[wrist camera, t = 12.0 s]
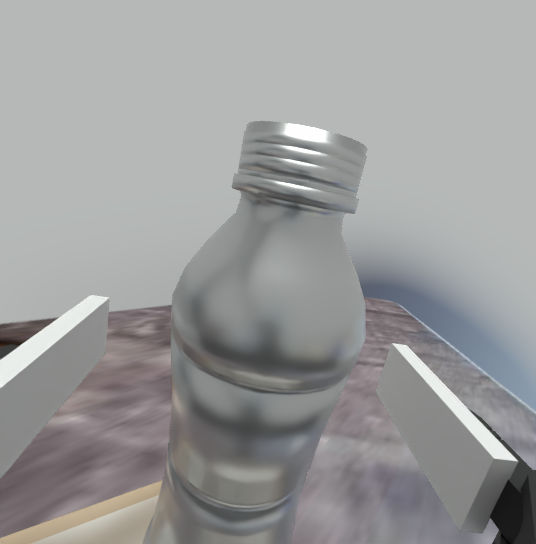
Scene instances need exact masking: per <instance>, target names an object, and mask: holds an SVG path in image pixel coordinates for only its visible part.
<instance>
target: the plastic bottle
mask: <svg viewBox="0 0 536 544" xmlns="http://www.w3.org/2000/svg"><path fill="white" fill-rule="evenodd" d="M366 152H367V148H366V146H365V145H363V144H361V143H360V142H358V141H355V140H353V139H351V138H348V137H345V136H342V135H339V134H336V133H332V132H329V131H324V130H321V129H316V128H312V127H307V126H302V125H296V124H289V123H281V122H271V121H270V122H269V121H256V122H250V123H248V124H247V129H246V131H245V133H244V138H243V144H242V151H241V157H240V163H239V169H238V174H234V178H233V184H232V188H233V189H236V190H240V192H241V199H240V202H239V205H238V208H237V211H236V213H235V214H234V215H233V216H231V217H230V218H229V219H228V220H227V221H226V223H224V224H223V225H222V226H221V227H220V228H219V229H218V230H217V231H216V232H215V233H214V234H213V235H212V236H211V237H210V238H209V239H208V240H207V241H206V243H205V244H204V245H203V246H202V247H201V249H200V250H199V251H198V252H197V253H196V255H195V256H194V257H193V258H192V259H191V261H190V262H189V263H188V264H187V266H186V267H185V269H184V271H183V273H182V275H181V277H180V280H179V282H178V284H177V286H176V288H175V291H174V293H173V295H172V312H171V328H170V330H171V370H172V408H171V419H170V430H169V443H168V453H167V465H166V469H165V473H164V477H163V481H162V485H161V489H160V493H159V497H158V501H157V505H156V509H155V513H154V515H153V517H152V519H151V521H150V524H149V526H148V528H147V531H146V533H145V536H144V539H143V543H142V544H291V540H292V535H293V529H294V524H295V518H296V513H297V507H298V502H299V496H300V493H301V490H302V488H303V485H304V482H305V479H306V475H307V472H308V470H309V468H310V465H311V462H312V460H313V457H314V454H315V451H316V448H317V445H318V443H319V440H320V437H321V434H322V432H323V430H324V428H325V426H326V424H327V421H328V419H329V417H330V415H331V413H332V411H333V409H334V407H335V405H336V403H337V401H338V399H339V397H340V395H341V393H342V391H343V388H344V386H345V384H346V382H347V380H348V378H349V376H350V374H351V371H352V369H353V368H354V366H355V364H356V362H357V359H358V356H359V354H360V351H361V348H362V346H363V343H364V341H365V301H364V297H363V294H362V290H361V287H360V283H359V280H358V276H357V273H356V270H355V267H354V265H353V262H352V260H351V258H350V255H349V253H348V250H347V247H346V245H345V242H344V240H343V237H342V235H341V232H342V221H343V217H344V215H345V214H346V213H352V214H355V212H356V208H357V204H358V200H359V199H356V195H357V191H358V187H359V183H360V180H361V176H362V172H363V168H364V165H365V161H366Z"/></svg>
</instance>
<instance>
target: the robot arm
mask: <svg viewBox="0 0 536 544" xmlns="http://www.w3.org/2000/svg"><path fill="white" fill-rule="evenodd" d="M108 311H109V298H108V297H101V296H95V295H90V296H89V297H88V298H86V299H85V300H83V301H82V302H81V303H79V304H78V305H77V306H75V307H74V308H73V309H71V310H69V311H68V312H67V313H65V314H64V315H62V316H61V317H60V318H58V319H57V320H55V321H54V322H53V323H51V324H50V325H48V326H47V327H46V328H44V329H43V330H41V331H40V332H39V333H37V334H36V335H34V336H33V337H32V338H30V339H29V340H27V341H26V342H25V343H23V344H22V345H20V346H17V345H7V346H5V347H2V348H0V479H1V478H2V476H3V475H4V474H5V473H6V472H7V470H8V469H9V468H10V467H11V466H12V464H13V463H14V462H15V461H16V460H17V458H18V457H19V456H20V455H21V454H22V452H23V451H24V450H25V449H26V448H27V446H28V445H29V444H30V443H31V442H32V440H33V439H34V438H35V437H36V436H37V435H38V433H39V432H40V431H41V430H42V429H43V427H44V426H45V425H46V424H47V423H48V421H49V420H50V419H51V418H52V417H53V415H54V414H55V413H56V412H57V411H58V409H59V408H60V407H61V406H62V405H63V403H64V402H65V401H66V400H67V399H68V398H69V396H70V395H71V394H72V393H73V392H74V390H75V389H76V388H77V387H78V386H79V384H80V383H81V382H82V381H83V380H84V378H85V377H86V376H87V375H88V374H89V372H90V371H91V370H92V369H93V368H94V366H95V365H96V364H97V363H98V362H99V361H100V359H101V358H102V357H103V356H104V355H105V351H106V338H107V325H108ZM376 393H377V395H378V397H379V398H380V400H381V402H382V403H383V405H384V407H385V408H386V410H387V412H388V413H389V415H390V417H391V418H392V420H393V422H394V423H395V425H396V427H397V428H398V430H399V432H400V433H401V435H402V437H403V438H404V440H405V442H406V443H407V445H408V447H409V448H410V450H411V452H412V453H413V455H414V457H415V458H416V460H417V462H418V463H419V465H420V467H421V468H422V470H423V472H424V473H425V475H426V477H427V478H428V480H429V481H430V483H431V485H432V486H433V488H434V490H435V491H436V493H437V495H438V496H439V498H440V500H441V501H442V503H443V505H444V506H445V508H446V510H447V511H448V513H449V515H450V516H451V518H452V520H453V521H454V523H455V525H456V526H457V528H458V530H459V531H462V532H473V533H483V531H484V529H485V527H486V525H487V523H488V521H489V519H490V518H491V519H492V521H493V522H494V523H495V525H496V526H497V527H498V529H499V531H498V533H497V535H496V537H495V539H494V541H493V543H492V544H536V470H532V469H531V468H530V467H529V466H528V465H527V464H526V463H525V462H524V461H523V460H522V459H521V458H520V457H519V456H518V455H517V454H516V453H515V452H514V451H513V450H512V448H511V447H510V446H509V445H508V444H507V443H506V442H505V441H504V440H501V437H500V436H499V435H498V434H497V433H496V432H495V431H492V428H491V427H490V426H489V425H488V424H487V423H486V422H485V421H484V420H483V419H482V418H481V417H479V416H478V415H477V414H475V413H474V412H472V411H471V410H470V409H468V408H466V406H465V405H464V404H463V403H462V402H461V401H460V400H459V399H458V398H457V397H456V396H455V395H454V394H453V393H452V392H451V391H450V390H449V389H448V388H447V387H446V386H445V385H444V384H443V383H442V382H441V381H440V380H439V378H438V377H437V376H436V375H435V374H434V373H433V372H432V371H431V370H430V369H429V368H428V367H427V366H426V365H425V364H424V363H423V362H422V361H421V360H420V359H419V358H418V357H417V356H416V355H415V354H414V353H413V351H412V350H411V349H410V348H409V347H408V346H407V345H400V344H394V343H392V344H391V347H390V350H389V353H388V356H387V359H386V362H385V365H384V368H383V371H382V374H381V377H380V380H379V383H378V386H377V389H376Z"/></svg>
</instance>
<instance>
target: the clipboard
mask: <svg viewBox="0 0 536 544" xmlns="http://www.w3.org/2000/svg"><path fill="white" fill-rule="evenodd" d="M162 481H163V480H162ZM162 481H159V482H156V483H154V484H151V485H148V486H145V487H142V488H140V489H137V490H134V491H131V492H128V493H126V494H123V495H120V496H117V497H114V498H112V499H109V500H106V501H103V502H100V503H98V504H95V505H92V506H89V507H86V508H84V509H81V510H78V511H75V512H72V513H69V514H67V515H64V516H61V517H58V518H55V519H53V520H50V521H47V522H44V523H41V524H39V525H36V526H33V527H30V528H27V529H25V530H22V531H19V532H16V533H13V534H11V535H8V536H5V537H2V538H0V544H142V543H143V539H144V536H145V533H146V531H147V528H148V526H149V524H150V521H151V519H152V517H153V515H154V513H155V509H156V505H157V501H158V497H159V493H160V489H161V485H162Z"/></svg>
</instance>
